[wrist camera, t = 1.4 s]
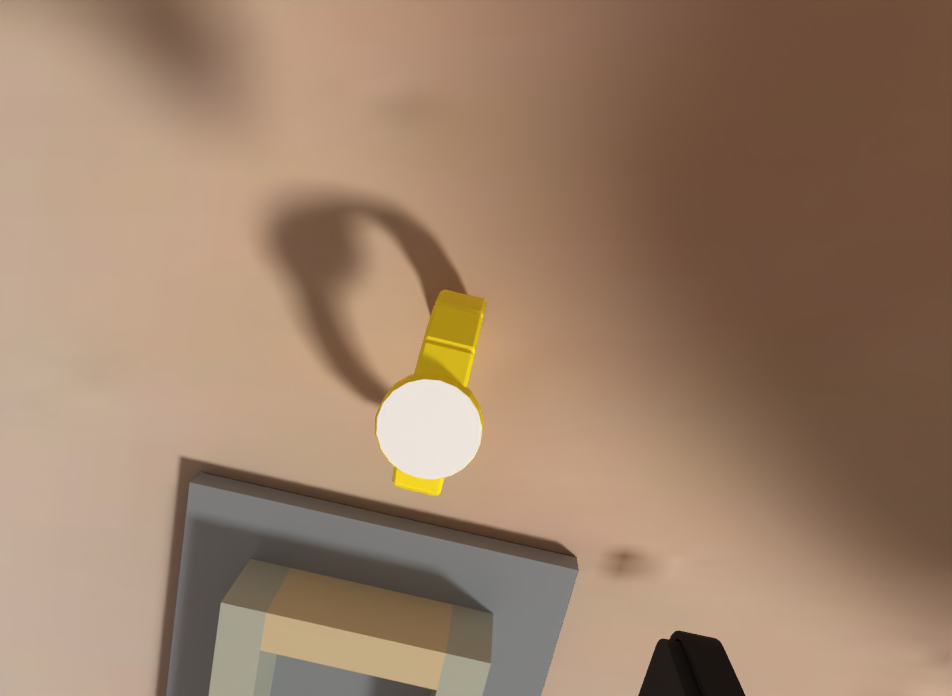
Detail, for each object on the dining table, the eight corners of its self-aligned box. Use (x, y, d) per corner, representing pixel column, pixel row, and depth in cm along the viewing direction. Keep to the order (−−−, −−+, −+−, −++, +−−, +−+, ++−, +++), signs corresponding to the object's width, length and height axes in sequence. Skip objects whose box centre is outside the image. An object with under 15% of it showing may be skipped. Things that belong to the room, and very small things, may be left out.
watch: (428, 275, 22) (401, 297, 16) (509, 295, 22) (511, 323, 16) (390, 441, 23) (352, 518, 17) (467, 460, 23) (455, 542, 17)
